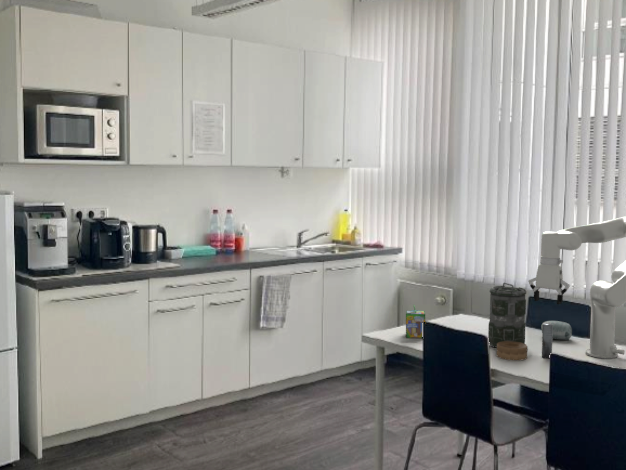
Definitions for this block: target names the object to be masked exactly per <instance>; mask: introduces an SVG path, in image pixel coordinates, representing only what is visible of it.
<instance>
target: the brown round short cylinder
mask: <svg viewBox="0 0 626 470" xmlns="http://www.w3.org/2000/svg"><path fill="white" fill-rule="evenodd" d="M496 357H497V358H499V359H502V360H506V361H507V360H508V361H523V360H526V359H527V358H528V345H527V343H525V344H524V343H520V342H514V341H504V342H499V343H497V347H496Z"/></svg>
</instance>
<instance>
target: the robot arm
mask: <svg viewBox="0 0 626 470" xmlns="http://www.w3.org/2000/svg"><path fill="white" fill-rule="evenodd" d="M625 238H626V216H622V217H616V218H614V219H609V220H605V221H601V222H596V223H590V224H585V225H583V224H582V225H579V226H578V225H577V226H573V227H569V228H568V227H567V228H564V229H560V230H558V231H544V232H543V233H542V234H541V242H540V243H541V244H540V263H539V264H538V265H537V270H536V276H535V277H533V278H531V279H528V283H529V287H530V288H531V289H532V292H533V299H534V302H538V301H540V289H545V290H547V289H548V290H555V291H556V292H557V298H556V299H557V300H556V305H561V304H562V303H563V299H564V294H565V293H566V292H568V290H569V288H570V287H571V285H570V284H569V283H568V282H567V281H565V280H564V276H563V275H564V274H563V268H562V265H560V264H563V263H564V260H562V259H561V258H560V257H561V250H565V251H576V250H578V249H579V248H580V247H581V246H582V244H587V243H589V244H601V243H603V244H604V243H607V242H612V241H615V240H619V239H625ZM534 282H535V284H534ZM563 286H564V288H563ZM562 288H563V289H562ZM589 299H590V332H589V348H588V349H586V350H585V354H586V355H587V356H590V357H593V358H598V359H615V358H618V357H619V355H618V354H620V355H625V353H626V352H625V349H623V348H618V347H617V344H615V335H616V330H615V329H616V308H620V307H622V306H623V305H625V304H626V260H624V262H622V263H621V264H620V265H618V266H617V267H616V268H615V269H613V271H612V273H611V282H610V281H608V280H596V281H595V282H594V283H592V285H591V286H590V288H589Z"/></svg>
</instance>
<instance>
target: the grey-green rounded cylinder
mask: <svg viewBox="0 0 626 470" xmlns="http://www.w3.org/2000/svg"><path fill="white" fill-rule="evenodd" d="M544 323H549V324H553V336H552V340H560V341H561V340H563V341H565V340H566V341H567V340H570V339H571V338H572V334H573V328H572V326H571V325H570V323H567V322H564V321H561V320H560V321H558V320H546V321H544V322H542V324H541V326H540V327H541V334H542V333H543V324H544Z"/></svg>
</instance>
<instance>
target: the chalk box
mask: <svg viewBox="0 0 626 470" xmlns="http://www.w3.org/2000/svg"><path fill="white" fill-rule="evenodd" d="M412 305H413V309H414V310H408V309H407V310H406V312H405V338H406V339H407V338H408V339H413V338H416V339H423V338H422V323H423V322H425V323H426V310H416V306H415V304H412Z"/></svg>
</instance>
